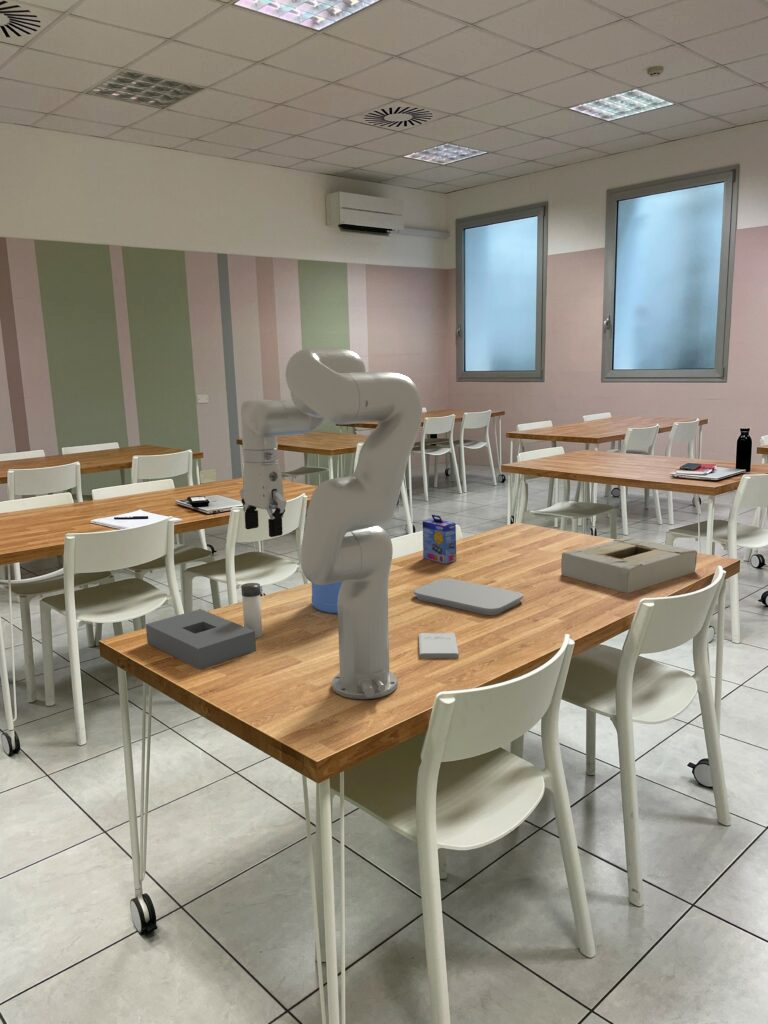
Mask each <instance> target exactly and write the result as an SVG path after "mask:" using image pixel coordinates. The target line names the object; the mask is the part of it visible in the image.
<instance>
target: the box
mask: <svg viewBox="0 0 768 1024" xmlns="http://www.w3.org/2000/svg"><path fill="white" fill-rule="evenodd" d="M697 559H698V551H697V550H696V549H692V548H684V547H679V546H674V545H671V544H670V545H669V544H664V543H660V542H655V541H650V540H646V539H641V538H636V537H633V536H625V537H621V538H616V539H614V540H613V541H609V542H604V543H600V544H596V545H593V546H588V547H584V548H579V549H572V550H571V549H570V550H568V551H567V550H566V551H564V552H562V553H561V564H560V565H561V566H560V567H561V568H560V569H561V570H560V572H561V576H565V577H567V578H571V579H576V580H579V581H583V582H585V583H590V584H594V585H597V586H600V587H604V588H608V589H611V590H615V591H618V592H622V593H626V594H629V593H632V592H635V591H639V590H642V589H645V588H648V587H651V586H654V585H657V584H660V583H663V582H668V581H670V580H673V579H676V578H680V577H684V576H686V575H689V574H692V573H693V574H694V573H695V572H696V566H697Z"/></svg>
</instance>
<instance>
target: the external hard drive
mask: <svg viewBox="0 0 768 1024" xmlns="http://www.w3.org/2000/svg"><path fill="white" fill-rule="evenodd" d="M418 649H419V650H418V651H419V658H420V659H459V657H460V656H459V655H460V654H459V653H460V652H459V649H458V644H457V638H456V634H455V632H420V633H418Z"/></svg>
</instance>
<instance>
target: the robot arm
mask: <svg viewBox="0 0 768 1024" xmlns="http://www.w3.org/2000/svg"><path fill="white" fill-rule="evenodd" d="M285 382H286V384H287V387H288V389H289V391H290V398H291V399H276V400H271V399H267V398H266V399H265V398H264V399H263V398H261V399H259V398H257V399H255V398H254V399H253V398H252V399H246V400H244V401H242V403H241V406H240V413H241V414H240V417H241V436H242V437H241V438H242V457H243V458H242V459H243V460H242V461H243V470H242V471H243V473H242V488H241V489H240V490H239V494H240V498H241V504H242V506H243V508H242V510H243V512H244V524H245V525H244V526H245V527H244V528H245V529H246V530H253V529H257V528H259V510H258V509H260V510H261V509H262V510H266V512H267V514H268V516H269V518H268V519H267V520H268V521H267V522H268V536H269V537H270V538H275V537H279V536H280V537H281V536H282V535H283V518H284V514H285V512H286V506H287V500H286V499H285V497H284V496H285V495H284V485H283V476H282V470H281V467H280V463H279V457H278V455H279V453H278V451H279V450H278V437H286V436H297V435H305V434H309V433H312V432H314V431H315V430H317V429H318V428H320V427H322V426H323V425H325V424H326V422H328V423H331V424H334V425H352V424H353V425H354V424H365V423H377V426H376V427H375V428H374V429H373V431H371V433H370V434H369V435H368V436H367V438H366V439H365V441H364V443H363V445H362V446H361V448H360V450H359V454H358V458H357V462H356V466H355V469H354V472H353V473H351V475H348V476H342V477H337V478H336V477H335V478H330V479H327V480H325V481H322V482H321V483H320V484H318V485H317V487H315V489H314V491H313V492H312V494H311V496H310V499H309V503H308V508H307V514H306V520H305V524H304V529H303V530H304V531H303V536H302V540H301V546H300V566H301V571H302V573H303V575H304V577H305V579H307V581H309V582H310V583H311V584H312V583H313V584H316V585H328V584H333V583H338V582H342V581H343V583H342V585H341V588H340V591H339V595H338V614H337V628H338V629H337V630H338V631H337V632H338V653H339V654H338V655H339V657H338V659H339V661H338V662H339V673H337V674H336V675H335V676H334V677H333V679H332V681H331V688H332V690H333V691H334V692H335V693H336V694H337V695H339V696H341V697H344V698H346V699H347V698H348V699H353V700H372V699H379V698H382V697H385V696H388V695H389V694H392V693H393V692H394V691H395V690H396V689H397V688H398V684H399V683H398V682H399V681H398V677H397V676H396V674H394V673H393V672H391V671H390V641H389V640H390V638H389V637H390V636H389V634H390V633H389V580H390V571H391V567H392V561H393V551H394V550H393V542H392V539H391V537H390V535H389V533H388V532H387V531H386V530H385V529H384V528H382V525H385V524H387V523H388V522H389V521H391V520H392V518H393V517H394V514H395V511H396V508H397V505H398V502H399V498H400V497H399V496H400V493H401V490H402V487H403V486H402V485H403V482H404V477H405V474H406V469H407V466H408V461H409V458H410V456H411V454H412V450H413V448H414V446H415V443H416V440H417V438H418V435H419V433H420V429H421V426H422V421H423V402H422V398H421V394H420V391H419V389H418V387H417V385H416V384H415V383H414V381H413V380H412V379H411V378H410V377H409V376H406V375H403V374H402V373H397V372H394V371H393V372H391V371H368V372H366V365H365V363H364V361H363V359H362V358H361V356H360V355H359V354H357V353H356V352H354V351H352V350H350V349H346V348H339V347H338V348H304V349H301V350H298V351H296V352H295V353H293V354H292V356H291V357H290V358H289V360H288V362H287V363H286V367H285ZM273 510H274V511H273Z"/></svg>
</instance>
